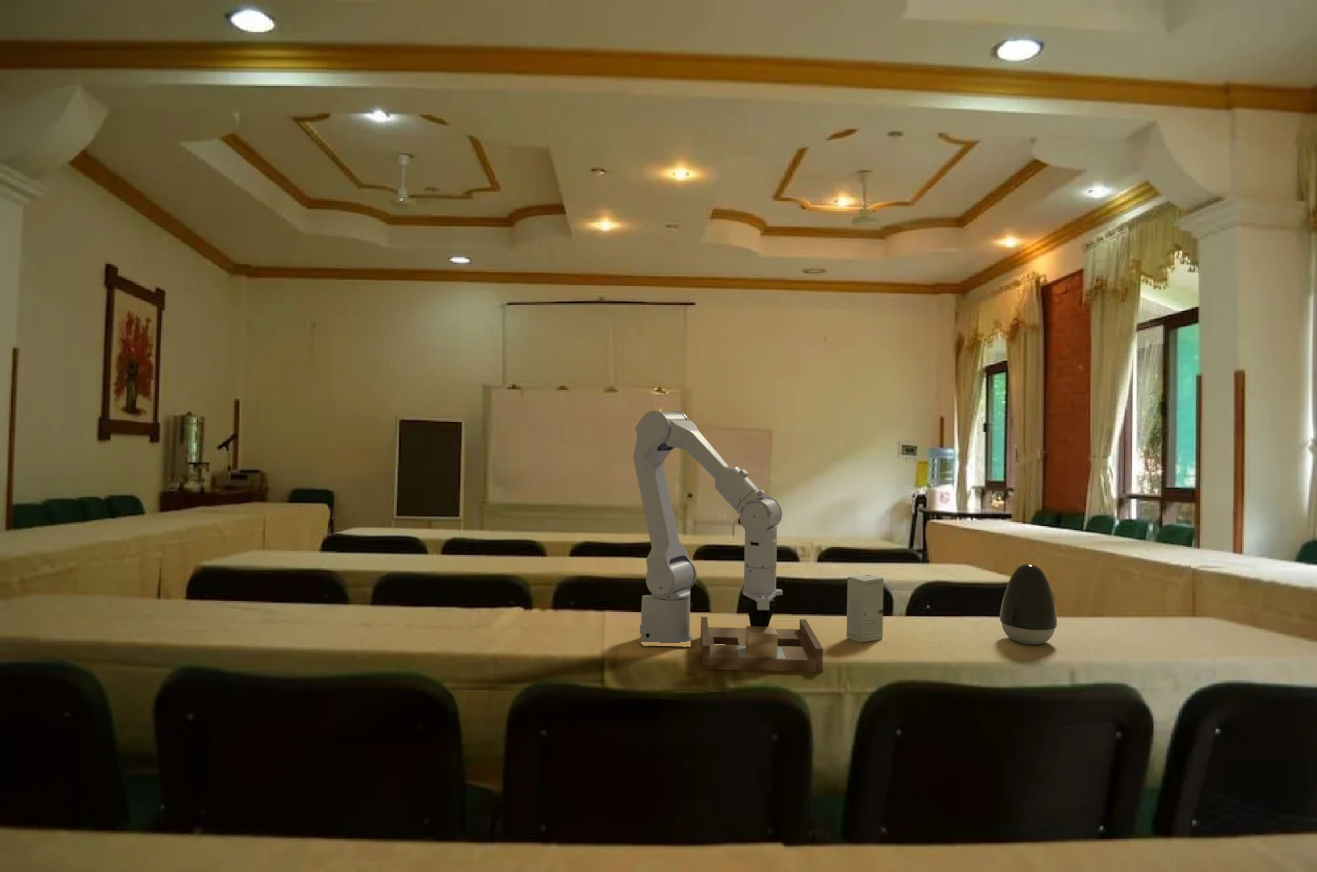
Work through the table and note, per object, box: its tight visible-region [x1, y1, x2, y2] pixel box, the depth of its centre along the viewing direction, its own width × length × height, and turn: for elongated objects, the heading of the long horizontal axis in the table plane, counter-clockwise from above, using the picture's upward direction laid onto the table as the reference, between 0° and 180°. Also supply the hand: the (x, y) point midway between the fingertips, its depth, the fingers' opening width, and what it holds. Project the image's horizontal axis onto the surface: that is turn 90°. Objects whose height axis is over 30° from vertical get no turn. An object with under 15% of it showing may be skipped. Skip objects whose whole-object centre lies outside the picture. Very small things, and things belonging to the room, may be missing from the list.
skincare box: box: [846, 574, 884, 643], centre depth 160 cm, size 6×4×12 cm
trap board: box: [700, 616, 824, 673], centre depth 149 cm, size 20×20×4 cm
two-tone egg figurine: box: [999, 563, 1058, 646], centre depth 160 cm, size 10×10×15 cm
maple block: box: [745, 625, 778, 657], centre depth 142 cm, size 5×5×4 cm
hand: (758, 640), depth 146 cm, fingers closed
